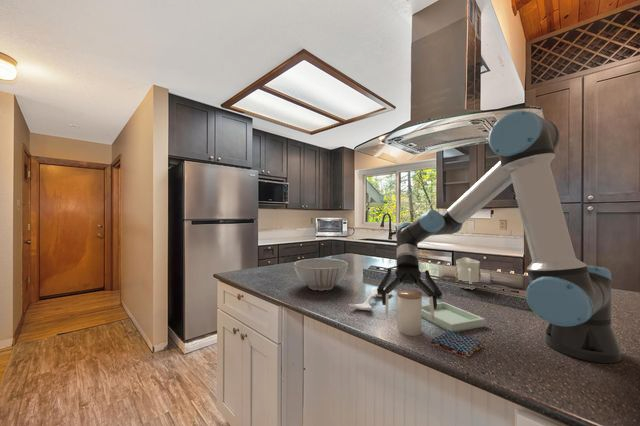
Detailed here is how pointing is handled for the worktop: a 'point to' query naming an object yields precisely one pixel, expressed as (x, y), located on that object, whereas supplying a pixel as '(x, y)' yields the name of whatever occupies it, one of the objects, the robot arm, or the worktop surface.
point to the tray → (452, 317)
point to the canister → (409, 312)
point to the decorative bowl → (321, 272)
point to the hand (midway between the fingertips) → (409, 316)
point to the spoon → (367, 303)
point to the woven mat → (456, 343)
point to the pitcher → (467, 270)
